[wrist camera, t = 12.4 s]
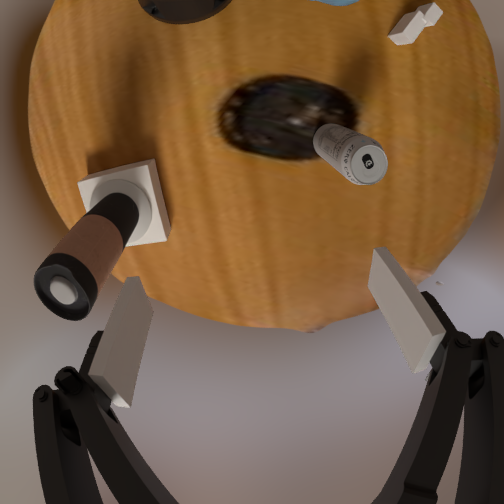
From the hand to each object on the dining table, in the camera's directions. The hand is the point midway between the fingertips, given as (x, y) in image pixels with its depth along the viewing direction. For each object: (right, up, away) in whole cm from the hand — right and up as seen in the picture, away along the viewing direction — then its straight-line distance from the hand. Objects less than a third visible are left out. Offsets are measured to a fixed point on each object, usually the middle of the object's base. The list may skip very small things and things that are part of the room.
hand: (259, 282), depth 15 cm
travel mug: (-21, +8, +26) cm, 34 cm away
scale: (-22, +10, +30) cm, 38 cm away
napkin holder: (+27, +41, +15) cm, 51 cm away
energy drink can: (+12, +20, +26) cm, 35 cm away
